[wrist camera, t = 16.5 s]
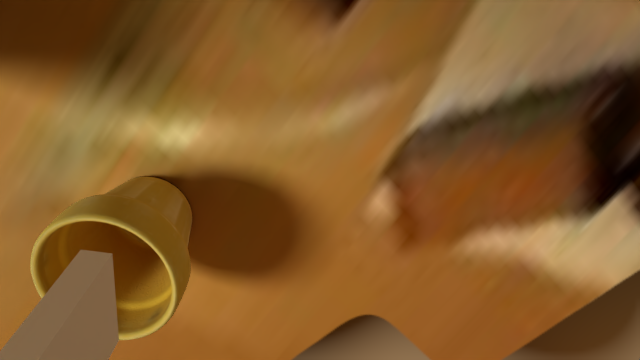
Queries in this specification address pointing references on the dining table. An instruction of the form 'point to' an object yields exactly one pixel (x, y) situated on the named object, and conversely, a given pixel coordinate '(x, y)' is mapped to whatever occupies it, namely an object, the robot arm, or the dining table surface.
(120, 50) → the dining table surface
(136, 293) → the plant pot
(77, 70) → the dining table surface
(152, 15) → the dining table surface
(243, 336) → the dining table surface
